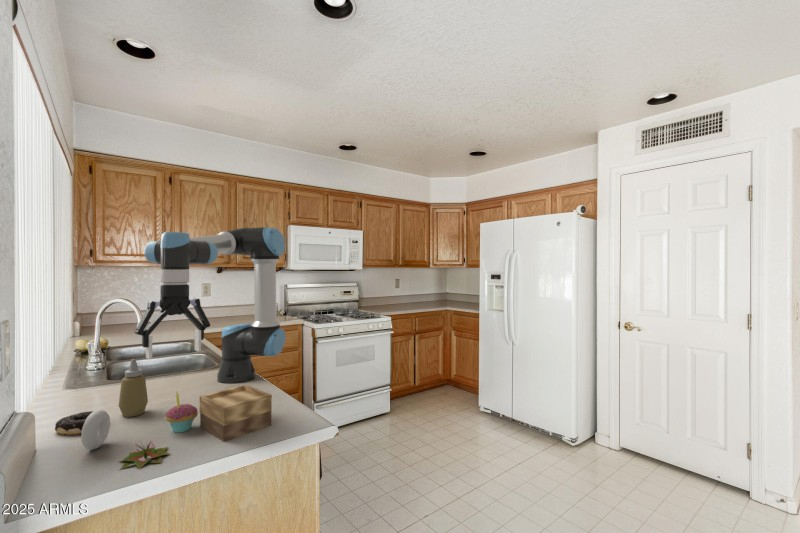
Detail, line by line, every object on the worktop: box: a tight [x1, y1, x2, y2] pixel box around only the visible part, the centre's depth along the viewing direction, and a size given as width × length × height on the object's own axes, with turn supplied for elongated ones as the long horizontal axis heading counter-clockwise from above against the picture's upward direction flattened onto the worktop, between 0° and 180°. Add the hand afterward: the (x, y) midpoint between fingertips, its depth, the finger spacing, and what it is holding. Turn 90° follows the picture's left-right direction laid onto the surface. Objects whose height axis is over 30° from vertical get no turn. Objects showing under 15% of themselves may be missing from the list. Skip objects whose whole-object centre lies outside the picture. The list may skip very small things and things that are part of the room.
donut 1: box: [54, 410, 95, 436], centre depth 119 cm, size 11×12×4 cm
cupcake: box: [165, 390, 199, 433], centre depth 119 cm, size 9×8×12 cm
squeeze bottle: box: [118, 358, 149, 418], centre depth 130 cm, size 8×8×18 cm
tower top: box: [199, 384, 273, 426], centre depth 122 cm, size 15×15×5 cm
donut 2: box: [80, 409, 111, 451], centre depth 107 cm, size 10×4×10 cm, turn 12°
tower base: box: [199, 410, 272, 443], centre depth 122 cm, size 15×15×5 cm
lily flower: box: [118, 439, 171, 470], centre depth 102 cm, size 12×12×5 cm
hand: (174, 354), depth 119 cm, fingers open, 13 cm apart
